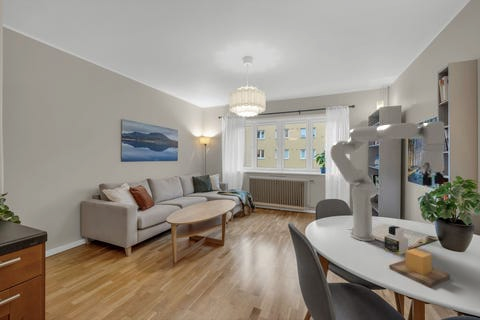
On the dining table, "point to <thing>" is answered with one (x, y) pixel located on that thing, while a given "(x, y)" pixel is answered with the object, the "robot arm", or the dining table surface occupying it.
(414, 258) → the plain orange cube
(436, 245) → the dining table surface
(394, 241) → the medicine bottle
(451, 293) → the dining table surface
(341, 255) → the dining table surface
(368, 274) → the dining table surface
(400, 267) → the walnut board
